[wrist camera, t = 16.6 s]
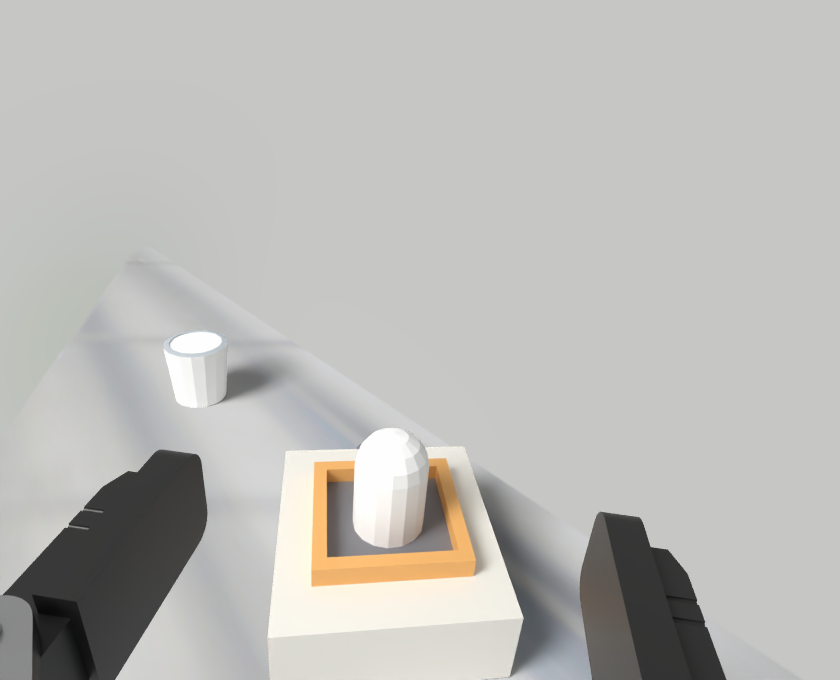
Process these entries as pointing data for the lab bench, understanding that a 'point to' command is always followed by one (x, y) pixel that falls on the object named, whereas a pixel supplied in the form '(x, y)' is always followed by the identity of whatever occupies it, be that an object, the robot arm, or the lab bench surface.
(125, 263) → the lab bench surface
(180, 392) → the white tapered cup
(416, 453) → the capsule
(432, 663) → the plate
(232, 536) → the lab bench surface
